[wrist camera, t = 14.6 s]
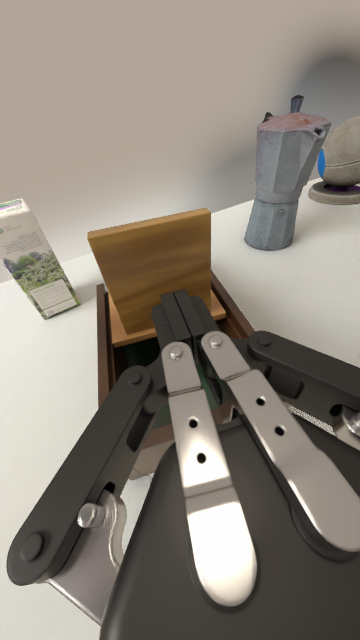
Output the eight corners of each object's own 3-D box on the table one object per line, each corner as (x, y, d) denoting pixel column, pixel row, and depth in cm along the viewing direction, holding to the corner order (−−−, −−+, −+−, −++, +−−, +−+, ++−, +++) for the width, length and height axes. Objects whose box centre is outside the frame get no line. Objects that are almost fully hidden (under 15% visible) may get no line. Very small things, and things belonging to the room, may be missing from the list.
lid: (226, 317, 21) (233, 210, 14) (114, 348, 20) (64, 246, 13) (177, 240, 33) (169, 162, 27) (106, 255, 32) (78, 178, 25)
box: (275, 429, 20) (298, 390, 15) (130, 480, 18) (99, 456, 13) (205, 304, 32) (204, 259, 27) (115, 327, 31) (96, 284, 26)
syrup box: (72, 287, 39) (22, 195, 28) (82, 305, 35) (28, 206, 25) (37, 302, 37) (-30, 208, 26) (44, 322, 33) (-31, 222, 23)
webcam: (376, 203, 50) (420, 113, 40) (314, 205, 53) (339, 121, 42) (356, 186, 59) (387, 108, 49) (303, 188, 62) (322, 115, 51)
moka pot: (266, 264, 38) (299, 98, 24) (225, 229, 49) (231, 101, 34) (314, 250, 39) (372, 87, 25) (264, 220, 50) (285, 93, 36)
